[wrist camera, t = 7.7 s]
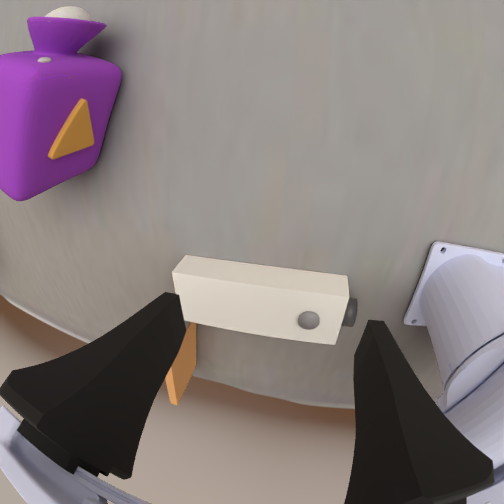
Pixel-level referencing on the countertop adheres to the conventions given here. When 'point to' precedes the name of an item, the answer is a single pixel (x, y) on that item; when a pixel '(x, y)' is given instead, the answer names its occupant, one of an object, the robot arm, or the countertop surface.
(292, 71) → the countertop surface
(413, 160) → the countertop surface
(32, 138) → the toy camera
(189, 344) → the side door
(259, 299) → the cream tapered panel
